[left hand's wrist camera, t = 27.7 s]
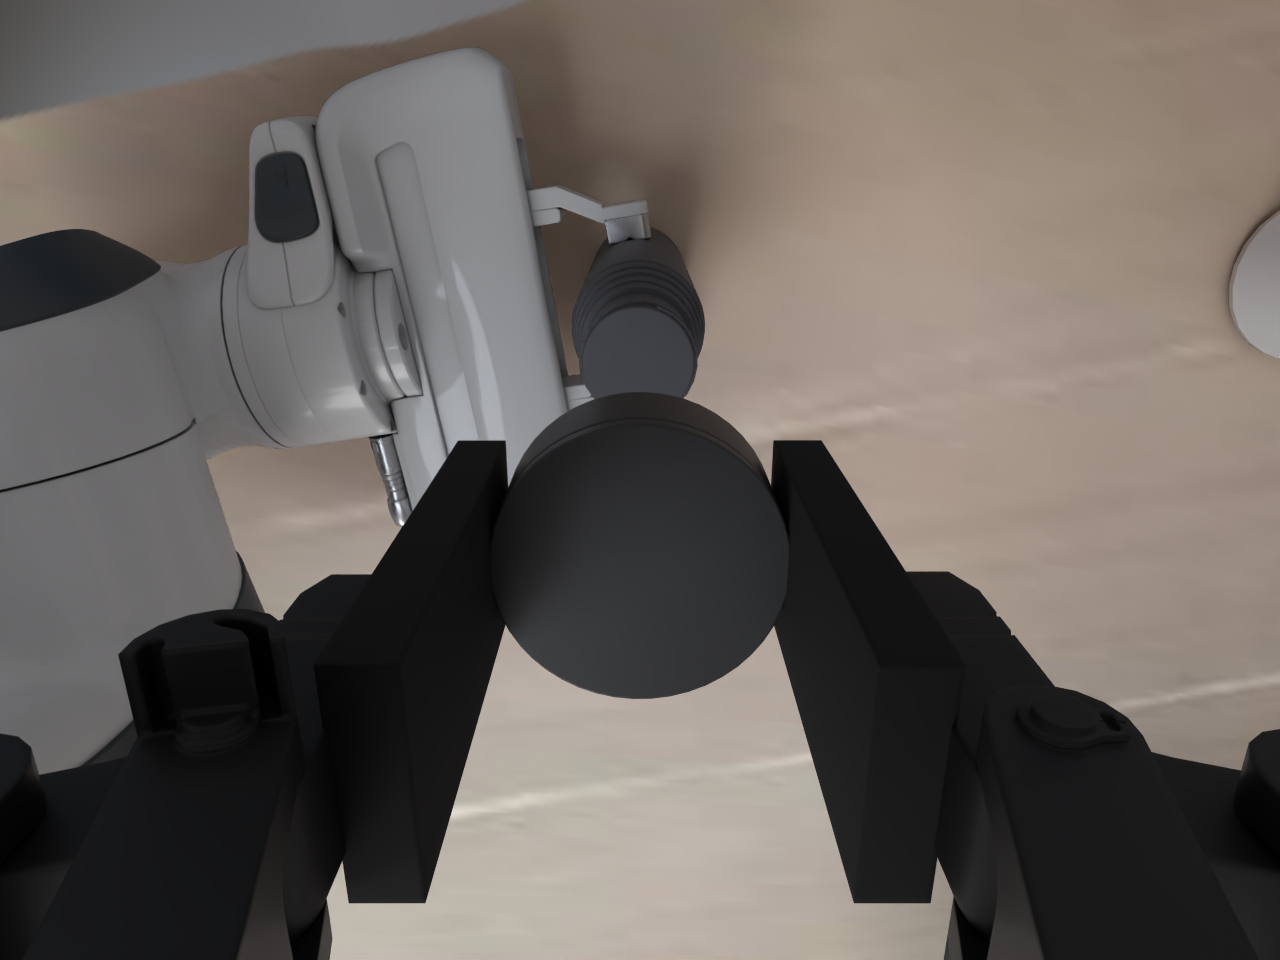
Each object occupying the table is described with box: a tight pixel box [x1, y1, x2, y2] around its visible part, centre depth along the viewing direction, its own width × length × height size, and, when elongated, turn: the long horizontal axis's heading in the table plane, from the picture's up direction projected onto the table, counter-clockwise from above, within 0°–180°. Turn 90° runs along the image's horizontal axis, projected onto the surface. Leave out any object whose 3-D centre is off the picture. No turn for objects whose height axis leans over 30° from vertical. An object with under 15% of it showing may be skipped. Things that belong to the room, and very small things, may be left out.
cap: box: [490, 392, 789, 699], centre depth 13 cm, size 4×4×2 cm
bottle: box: [572, 228, 705, 399], centre depth 34 cm, size 4×4×20 cm
